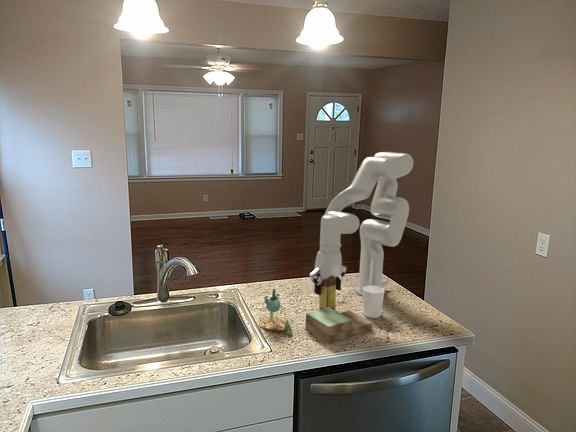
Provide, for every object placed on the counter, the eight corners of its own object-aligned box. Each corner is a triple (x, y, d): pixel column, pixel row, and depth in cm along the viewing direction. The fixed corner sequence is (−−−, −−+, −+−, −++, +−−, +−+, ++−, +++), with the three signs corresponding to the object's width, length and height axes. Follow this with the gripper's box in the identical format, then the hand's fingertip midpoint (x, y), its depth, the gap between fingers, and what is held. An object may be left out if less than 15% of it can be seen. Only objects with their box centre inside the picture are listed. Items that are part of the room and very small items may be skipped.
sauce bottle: (335, 307, 167) (337, 258, 163) (335, 313, 161) (338, 262, 157) (318, 305, 167) (320, 257, 163) (317, 312, 161) (320, 261, 157)
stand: (348, 316, 158) (349, 301, 157) (372, 329, 149) (373, 313, 148) (305, 329, 147) (306, 313, 146) (327, 343, 138) (328, 326, 136)
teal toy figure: (274, 341, 139) (272, 296, 137) (251, 324, 154) (249, 284, 153) (299, 334, 143) (298, 291, 142) (274, 319, 159) (273, 280, 157)
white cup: (365, 319, 156) (367, 293, 155) (358, 310, 164) (359, 285, 162) (385, 318, 158) (387, 292, 156) (377, 309, 166) (379, 285, 164)
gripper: (340, 243, 167) (338, 284, 170) (305, 248, 157) (303, 292, 161) (353, 247, 161) (351, 290, 164) (317, 253, 151) (315, 299, 155)
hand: (327, 291), depth 163 cm, fingers open, 9 cm apart
